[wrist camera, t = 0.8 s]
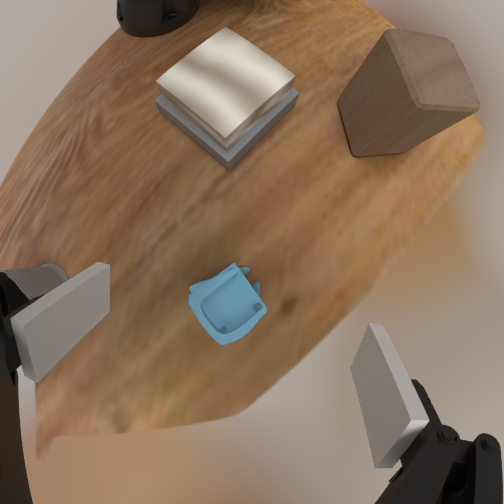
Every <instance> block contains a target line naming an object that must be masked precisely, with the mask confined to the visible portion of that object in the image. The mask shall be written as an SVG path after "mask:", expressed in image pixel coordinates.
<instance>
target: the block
mask: <svg viewBox="0 0 504 504" xmlns="http://www.w3.org/2000/svg"><path fill="white" fill-rule="evenodd" d="M338 106H339V109H340V112H341V116H342V119H343V123H344V126H345V130H346V133H347V137H348V140H349V144H350V148H351V152H352V154H353V155H354V156H358V157H363V156H373V155H384V154H396V153H404V152H406V151H408V150H409V149H411V148H413V147H415V146H416V145H418V144H420V143H422V142H423V141H425V140H427V139H429V138H431V137H432V136H434V135H436V134H438V133H439V132H441V131H443V130H445V129H447V128H448V127H450V126H452V125H454V124H455V123H457V122H459V121H461V120H463V119H464V118H466V117H468V116H470V115H472V114H473V113H475V112H477V111H478V110H479V108H480V104H479V100H478V98H477V95H476V93H475V90H474V88H473V85H472V83H471V81H470V78H469V76H468V74H467V72H466V70H465V67H464V65H463V63H462V61H461V59H460V57H459V55H458V53H457V51H456V49H455V47H454V45H453V43H452V42H451V41H450V40H448V39H447V38H443V37H439V36H434V35H429V34H424V33H419V32H413V31H407V30H400V29H388V30H386V31H385V32H384V33H383V35H382V36H381V37H380V39H379V40H378V42H377V43H376V45H375V46H374V47H373V49H372V50H371V52H370V53H369V55H368V56H367V58H366V59H365V60H364V62H363V63H362V65H361V66H360V68H359V69H358V71H357V72H356V74H355V75H354V76H353V78H352V79H351V81H350V82H349V84H348V85H347V87H346V88H345V90H344V91H343V93H342V94H341V96H340V97H339V98H338Z"/></svg>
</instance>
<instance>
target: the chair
mask: <svg viewBox="0 0 504 504" xmlns="http://www.w3.org/2000/svg"><path fill="white" fill-rule="evenodd" d="M249 271H250V269H249V267H247V266H246V267H242V268H238V266H237V265H236V263H235V262H234V263H233V264H231V265H230V266H229V267H227V268H226V269H224V270H223V271H222V272H220V273H219V274H217V275H216V276H215V277H213V278H210V279H207V280H203V281H200V282H197V283H195V284H193V285H191V286H190V287H189V290H190V291H191V294H190V295H189V297H188V304H189V306H190V307H191V309H192V311H193V313H194V314H195V316H196V317H197V319H198V320H199V322H200V323H201V325H202V326H203V327H204V328H205V330H206V331H207V332H208V333H209V334H210V335H211V337H212V338H213V339H214V340H215V341H216V342H217V343H219V344H220V345H226V344H229V343H232V342H234V341H236V340H238V339H240V338H242V337H243V336H244V335H246V334H247V333H248V332H249V331H250V330H251V329H252V328H253V327H254V325H255V324H256V323H257V322H258V321H259V319H260V318H261V317H262V316H263V315H264V314H265V313H266V312H267V307H266V305H265V304H264V302H263V301H262V300H261V298H260V282H255V283H253V284H252V285H251V284H250V283H249V282H248V280H247V279H246V278H245V275H247V274H248V273H249Z"/></svg>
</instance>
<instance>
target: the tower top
mask: <svg viewBox="0 0 504 504" xmlns="http://www.w3.org/2000/svg"><path fill="white" fill-rule="evenodd" d="M295 77H296V76H295V75H294V74H293V73H291V72H290V71H289V70H287V69H286V68H285V67H283V66H282V65H281V64H279V63H278V62H277V61H275V60H274V59H273V58H271V57H270V56H269V55H267V54H266V53H264V52H263V51H262V50H260V49H259V48H257V47H256V46H254V45H253V44H251V43H250V42H249V41H247V40H246V39H244V38H243V37H241V36H239V35H238V34H236V33H235V32H233V31H232V30H230V29H229V28H227V27H224V28H223V29H221V30H220V31H219V32H217V33H216V34H214V35H213V36H211V37H210V38H209V39H207V40H206V41H205V42H203V43H202V44H201V45H199V46H198V47H197V48H195V49H194V50H193V51H191V52H190V53H189V54H188V55H186V56H185V57H184V58H183V59H181V60H180V61H179V62H178V63H176V64H175V65H174V66H173V67H172V68H170V69H169V70H168V71H167V72H166V73H164V74H163V75H162V76H161V77H160V78H159V79H157V80H156V83H157V85H158V87H159V89H160V91H161V93H162V95H163V97H164V99H166V100H167V101H168V102H169V103H170V104H172V105H173V106H174V107H175V108H176V109H178V110H179V111H180V112H181V113H182V114H184V115H185V116H186V117H187V118H188V119H190V120H191V121H192V122H193V123H194V124H195V125H197V126H198V127H199V128H200V129H201V130H203V131H204V132H205V133H206V134H207V135H208V136H209V137H211V138H212V139H213V140H214V141H215V142H216V143H218V144H219V145H220V146H221V147H222V148H223V149H224V150H225V151H228V150H229V149H230V148H231V147H232V146H233V145H234V144H235V143H236V142H237V141H238V140H239V139H240V138H241V137H243V136H244V135H245V134H246V133H247V132H248V131H249V130H250V129H251V128H252V127H253V126H254V125H255V124H256V123H258V122H259V121H260V120H261V119H262V118H263V117H264V116H265V115H266V114H267V113H269V112H270V111H271V110H272V109H273V108H274V107H275V106H276V105H278V104H279V103H280V102H281V101H282V100H283V99H284V98H285V97H287V96H288V95H289V94H290V91H291V88H292V85H293V82H294V79H295Z"/></svg>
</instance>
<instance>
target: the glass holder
mask: <svg viewBox="0 0 504 504" xmlns="http://www.w3.org/2000/svg"><path fill="white" fill-rule="evenodd" d="M67 280H69V278H68V276H67V274H66V273H65V271H64V270H63V269H62V268H61V267H59V266H58V265H56V264H53V263H46V264H43V265H41V266H40V267H33V268H23V269H13V270H3V271H1V272H0V303H1V309H2V314H3V318H4V317H6V316H7V315H9V314H10V313H12V312H13V311H15V310H16V309H18V308H19V307H21V306H22V305H24V304H25V303H27V302H28V301H30V300H31V299H33V298H34V297H37V296H40V295H43V294H45V295H46V294H47V293H49V292H50V291H52V290H53V289H55V288H57V287H58V286H60V285H61V284H63V283H64V282H66V281H67Z"/></svg>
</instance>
